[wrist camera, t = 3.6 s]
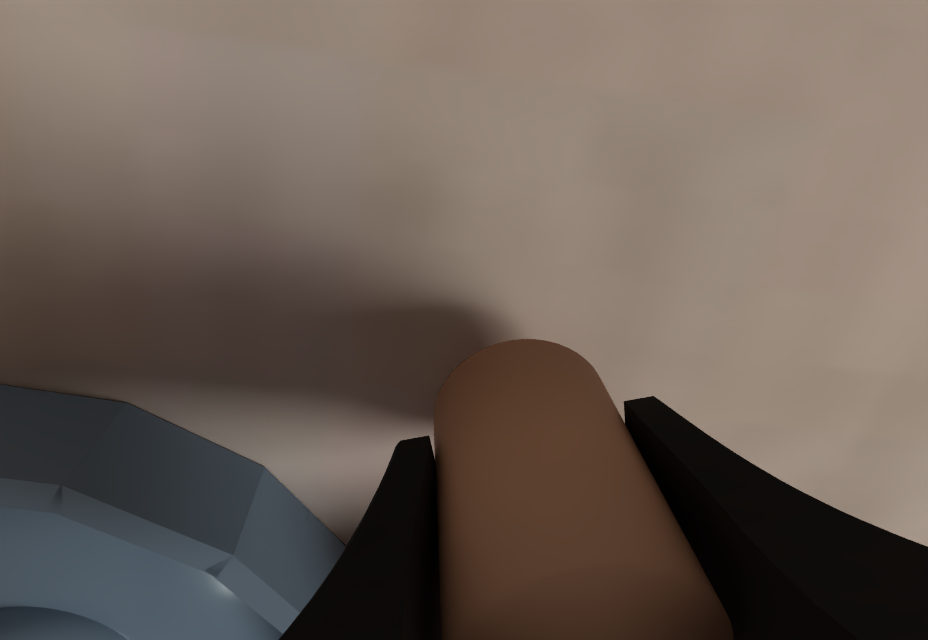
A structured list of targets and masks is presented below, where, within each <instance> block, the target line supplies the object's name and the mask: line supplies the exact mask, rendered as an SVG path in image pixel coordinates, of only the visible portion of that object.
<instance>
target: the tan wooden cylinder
mask: <svg viewBox="0 0 928 640" xmlns="http://www.w3.org/2000/svg"><path fill="white" fill-rule="evenodd" d="M434 446H435V468H436V494H437V524H438V550H439V576H440V602H441V628H442V640H734V637H733V630H732V626H731V622H730V619H729V617H728V615H727V613H726V611H725V609H724V607H723V606H722V604H721V602H720V600H719V598H718V596H717V594H716V593H715V591H714V589H713V587H712V585H711V583H710V581H709V579H708V578H707V576H706V574H705V572H704V570H703V568H702V566H701V565H700V563H699V561H698V559H697V557H696V555H695V553H694V552H693V550H692V548H691V546H690V544H689V542H688V540H687V539H686V537H685V535H684V533H683V531H682V529H681V527H680V526H679V524H678V522H677V520H676V518H675V516H674V514H673V513H672V511H671V509H670V507H669V505H668V503H667V501H666V500H665V498H664V496H663V494H662V492H661V490H660V488H659V486H658V485H657V483H656V481H655V479H654V477H653V475H652V473H651V472H650V470H649V468H648V466H647V464H646V462H645V460H644V459H643V457H642V455H641V453H640V451H639V449H638V447H637V446H636V444H635V442H634V440H633V438H632V436H631V434H630V433H629V431H628V429H627V427H626V425H625V423H624V421H623V420H622V418H621V416H620V414H619V412H618V410H617V408H616V407H615V405H614V403H613V401H612V399H611V397H610V395H609V393H608V392H607V390H606V388H605V386H604V384H603V382H602V380H601V379H600V377H599V375H598V373H597V372H596V371H595V369H594V368H593V366H592V365H591V364H590V363H589V362H588V361H587V360H586V359H585V358H583V357H582V356H581V355H579V354H578V353H576V352H575V351H573V350H571V349H569V348H567V347H565V346H562V345H560V344H557V343H553V342H549V341H544V340H536V339H520V340H511V341H506V342H502V343H498V344H495V345H492V346H490V347H487V348H485V349H483V350H481V351H479V352H477V353H475V354H473V355H472V356H470V357H469V358H467V359H466V360H465V361H463V362H462V363H461V364H460V365H459V366H458V367H457V368H456V369H455V370H454V371H453V372H452V373H451V374H450V375H449V377H448V378H447V380H446V381H445V382H444V384H443V386H442V388H441V390H440V392H439V394H438V397H437V400H436V403H435V408H434Z"/></svg>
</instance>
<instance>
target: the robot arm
mask: <svg viewBox="0 0 928 640" xmlns="http://www.w3.org/2000/svg"><path fill="white" fill-rule="evenodd" d="M624 411H625V425H626V427H627V429H628V431H629V433H630V434H631V436H632V438H633V440H634V442H635V444H636V446H637V447H638V449H639V451H640V453H641V455H642V457H643V459H644V460H645V462H646V464H647V466H648V468H649V470H650V472H651V473H652V475H653V477H654V479H655V481H656V483H657V485H658V486H659V488H660V490H661V492H662V494H663V496H664V498H665V500H666V501H667V503H668V505H669V507H670V509H671V511H672V513H673V514H674V516H675V518H676V520H677V522H678V524H679V526H680V527H681V529H682V531H683V533H684V535H685V537H686V539H687V540H688V542H689V544H690V546H691V548H692V550H693V552H694V553H695V555H696V557H697V559H698V561H699V563H700V565H701V566H702V568H703V570H704V572H705V574H706V576H707V578H708V579H709V581H710V583H711V585H712V587H713V589H714V591H715V593H716V594H717V596H718V598H719V600H720V602H721V604H722V606H723V607H724V609H725V611H726V613H727V615H728V617H729V619H730V622H731V626H732V630H733V637H734V640H928V547H927V546H924V545H922V544H919V543H916V542H914V541H911V540H908V539H906V538H903V537H901V536H898V535H896V534H893V533H891V532H888V531H886V530H884V529H881V528H879V527H877V526H874V525H872V524H869V523H867V522H865V521H862V520H860V519H858V518H855V517H853V516H851V515H849V514H847V513H844V512H842V511H840V510H838V509H836V508H833V507H831V506H829V505H827V504H825V503H823V502H821V501H819V500H817V499H815V498H813V497H811V496H809V495H807V494H805V493H803V492H801V491H799V490H798V489H796V488H794V487H792V486H790V485H788V484H786V483H785V482H783V481H781V480H779V479H777V478H776V477H774V476H772V475H771V474H769V473H767V472H766V471H764V470H762V469H760V468H759V467H757V466H755V465H754V464H752V463H750V462H749V461H747V460H745V459H744V458H742V457H741V456H739V455H737V454H736V453H734V452H733V451H731V450H730V449H728V448H727V447H725V446H724V445H722V444H721V443H719V442H718V441H716V440H715V439H713V438H712V437H710V436H709V435H707V434H706V433H704V432H703V431H702V430H700V429H699V428H697V427H696V426H695V425H693V424H692V423H690V422H689V421H687V420H686V419H685V418H683V417H682V416H681V415H679V414H678V413H676V412H675V411H674V410H672V409H671V408H669V407H668V406H667V405H665V404H664V403H663V402H661V401H660V400H658V399H657V398H655V397H654V396H651V397H646V398H640V399H634V400H629V401H624ZM278 640H442V628H441V602H440V576H439V550H438V524H437V494H436V468H435V459H434V454H433V450H432V446H431V442H430V437H429V436H424V437H419V438H413V439H407V440H402V441H400V442H399V443H398V444H397V445H396V447H395V450H394V452H393V455H392V457H391V460H390V462H389V465H388V467H387V469H386V472H385V474H384V476H383V478H382V480H381V483H380V485H379V487H378V489H377V491H376V493H375V495H374V497H373V499H372V501H371V503H370V505H369V507H368V509H367V511H366V513H365V515H364V516H363V518H362V520H361V522H360V524H359V525H358V527H357V529H356V531H355V532H354V534H353V536H352V537H351V539H350V541H349V542H348V544H347V546H346V548H345V549H344V551H343V553H342V554H341V556H340V557H339V559H338V560H337V562H336V564H335V565H334V567H333V568H332V570H331V571H330V573H329V574H328V576H327V577H326V578H325V580H324V581H323V583H322V584H321V586H320V587H319V588H318V590H317V591H316V593H315V594H314V595H313V597H312V598H311V599H310V601H309V602H308V603H307V604H306V606H305V607H304V608H303V610H302V611H301V612H300V613H299V615H298V616H297V617H296V619H295V620H294V621H293V622H292V624H291V625H290V626H289V627H288V629H287V630H286V631H285V632H284V633H283V635H282V636H281V637H280V638H279V639H278Z"/></svg>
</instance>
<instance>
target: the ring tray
mask: <svg viewBox="0 0 928 640" xmlns="http://www.w3.org/2000/svg"><path fill="white" fill-rule="evenodd" d="M345 548H346V546H345V545H344V544H343V543H342V542H341V541H340V540H339V539H338V538H337V537H336V536H335V535H334V534H332V533H331V532H330V531H329V530H328V529H327V528H326V527H325V526H324V525H323V524H322V523H321V522H320V521H319V520H318V519H317V518H316V517H315V516H314V515H313V514H312V513H311V512H310V511H309V510H308V509H307V508H306V507H305V506H304V505H303V504H302V503H301V502H300V501H299V500H298V499H297V498H296V497H295V496H294V495H293V494H292V493H291V492H290V491H289V490H288V489H287V488H285V487H284V486H283V485H282V484H281V483H280V482H279V481H278V480H277V479H276V478H275V477H274V476H273V475H272V474H271V473H270V472H269V471H268V470H267V469H266V468H265V467H264V466H261V465H259V464H257V463H255V462H253V461H251V460H249V459H246V458H244V457H242V456H240V455H238V454H236V453H233V452H231V451H229V450H227V449H225V448H223V447H221V446H218V445H216V444H214V443H212V442H210V441H208V440H206V439H203V438H201V437H199V436H197V435H195V434H193V433H190V432H188V431H186V430H184V429H182V428H180V427H178V426H175V425H173V424H171V423H169V422H167V421H165V420H162V419H160V418H158V417H156V416H154V415H152V414H150V413H147V412H145V411H143V410H141V409H139V408H137V407H135V406H132V405H130V404H128V403H124V402H117V401H110V400H103V399H96V398H89V397H82V396H75V395H68V394H62V393H55V392H48V391H41V390H34V389H27V388H20V387H13V386H6V385H0V640H278V639H279V638H280V637H281V636H282V635H283V633H284V632H285V631H286V630H287V629H288V627H289V626H290V625H291V624H292V622H293V621H294V620H295V619H296V617H297V616H298V615H299V613H300V612H301V611H302V610H303V608H304V607H305V606H306V604H307V603H308V602H309V601H310V599H311V598H312V597H313V595H314V594H315V593H316V591H317V590H318V588H319V587H320V586H321V584H322V583H323V581H324V580H325V578H326V577H327V576H328V574H329V573H330V571H331V570H332V568H333V567H334V565H335V564H336V562H337V560H338V559H339V557H340V556H341V554H342V553H343V551H344V549H345Z"/></svg>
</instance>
